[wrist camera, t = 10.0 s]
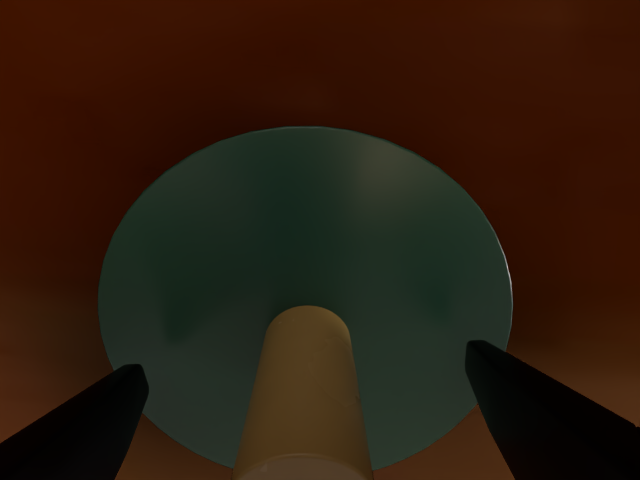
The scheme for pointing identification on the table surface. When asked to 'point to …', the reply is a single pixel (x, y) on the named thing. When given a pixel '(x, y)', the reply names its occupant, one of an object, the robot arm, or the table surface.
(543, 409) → the robot arm
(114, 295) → the pan lid
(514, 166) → the table surface
